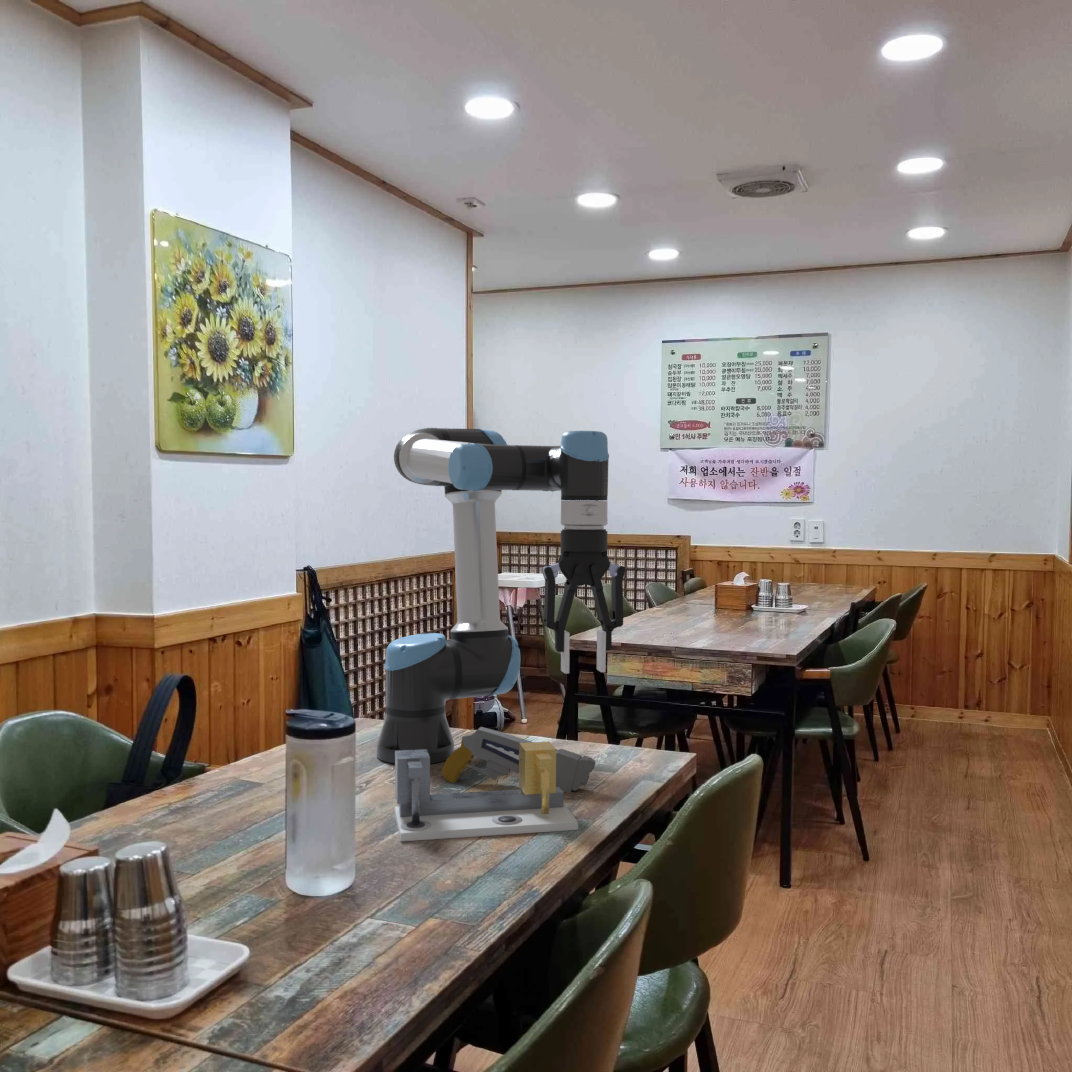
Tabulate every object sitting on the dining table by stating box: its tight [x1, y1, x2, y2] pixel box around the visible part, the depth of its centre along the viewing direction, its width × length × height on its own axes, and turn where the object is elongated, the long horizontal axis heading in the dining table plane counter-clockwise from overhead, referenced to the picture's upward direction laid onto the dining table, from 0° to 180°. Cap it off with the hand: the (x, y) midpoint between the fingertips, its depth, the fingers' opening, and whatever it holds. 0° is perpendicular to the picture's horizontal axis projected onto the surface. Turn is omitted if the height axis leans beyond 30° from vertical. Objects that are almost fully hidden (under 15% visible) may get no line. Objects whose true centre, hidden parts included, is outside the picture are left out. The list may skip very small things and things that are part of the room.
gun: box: [441, 726, 597, 793], centre depth 177 cm, size 3×25×15 cm, turn 76°
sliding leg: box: [518, 741, 557, 814], centre depth 160 cm, size 9×5×9 cm, turn 12°
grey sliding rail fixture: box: [394, 749, 565, 824], centre depth 158 cm, size 9×26×9 cm, turn 102°
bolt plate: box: [394, 803, 579, 842], centre depth 157 cm, size 13×27×1 cm, turn 102°
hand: (583, 671), depth 162 cm, fingers open, 5 cm apart
